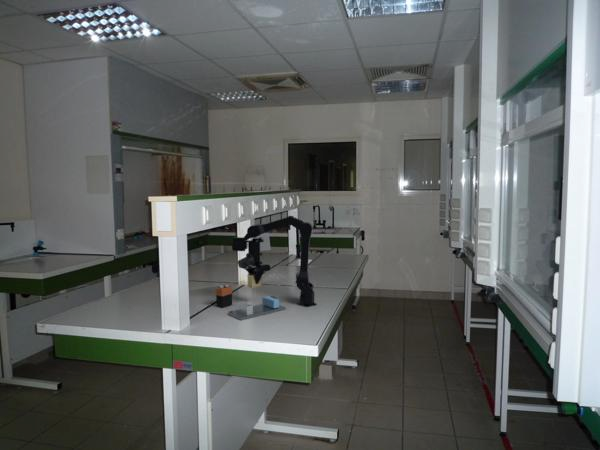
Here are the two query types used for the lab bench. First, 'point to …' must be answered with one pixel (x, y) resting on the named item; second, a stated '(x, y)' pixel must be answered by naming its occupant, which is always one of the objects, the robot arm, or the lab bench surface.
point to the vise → (252, 310)
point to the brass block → (253, 281)
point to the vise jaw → (270, 301)
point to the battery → (224, 296)
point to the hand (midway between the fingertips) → (254, 283)
